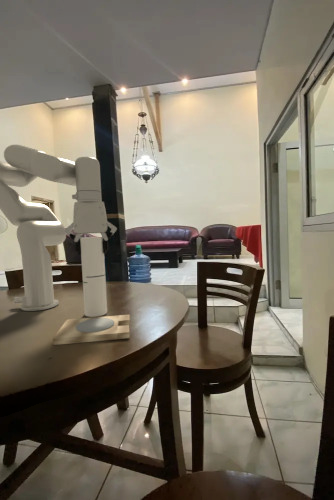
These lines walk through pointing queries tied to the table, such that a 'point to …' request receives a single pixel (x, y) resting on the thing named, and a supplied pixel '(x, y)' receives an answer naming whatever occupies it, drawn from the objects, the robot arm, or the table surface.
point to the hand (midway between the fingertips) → (92, 253)
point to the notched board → (93, 329)
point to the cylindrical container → (93, 276)
